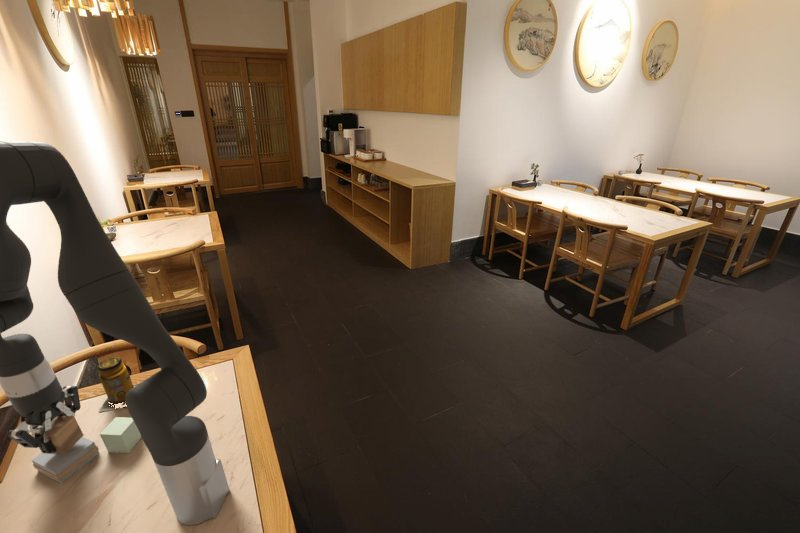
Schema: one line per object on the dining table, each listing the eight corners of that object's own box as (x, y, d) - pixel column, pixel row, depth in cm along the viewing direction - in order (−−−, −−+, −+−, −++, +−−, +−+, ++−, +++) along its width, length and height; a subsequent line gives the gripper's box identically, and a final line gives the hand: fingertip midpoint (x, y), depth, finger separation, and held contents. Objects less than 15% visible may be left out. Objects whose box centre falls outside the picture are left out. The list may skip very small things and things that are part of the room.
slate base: (100, 453, 87) (95, 441, 85) (61, 484, 80) (53, 472, 78) (78, 442, 89) (71, 431, 88) (37, 472, 82) (29, 460, 81)
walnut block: (83, 435, 85) (74, 416, 82) (64, 454, 80) (53, 434, 77) (62, 434, 85) (52, 415, 82) (42, 453, 80) (31, 433, 78)
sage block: (143, 435, 91) (135, 417, 88) (128, 453, 86) (120, 435, 84) (123, 434, 91) (115, 417, 89) (108, 452, 87) (99, 434, 84)
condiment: (141, 385, 107) (128, 352, 102) (129, 407, 99) (115, 373, 94) (112, 390, 105) (98, 356, 100) (98, 412, 97) (82, 377, 92)
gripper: (13, 410, 68) (49, 471, 75) (77, 360, 81) (103, 416, 88) (-26, 408, 68) (14, 469, 76) (45, 359, 81) (73, 415, 89)
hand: (62, 440), depth 82 cm, fingers closed on walnut block, 4 cm apart
